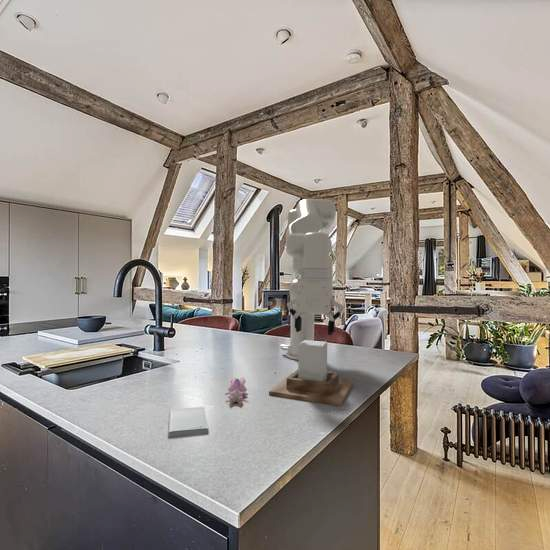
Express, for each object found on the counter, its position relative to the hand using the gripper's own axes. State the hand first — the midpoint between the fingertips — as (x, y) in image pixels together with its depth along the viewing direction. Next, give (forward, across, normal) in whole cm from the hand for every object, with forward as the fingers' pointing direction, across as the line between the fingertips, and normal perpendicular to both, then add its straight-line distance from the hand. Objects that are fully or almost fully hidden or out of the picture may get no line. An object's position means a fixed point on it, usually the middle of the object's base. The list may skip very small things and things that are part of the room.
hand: (314, 332), depth 105 cm
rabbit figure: (+17, -17, -16) cm, 29 cm away
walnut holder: (+16, 0, -1) cm, 17 cm away
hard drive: (+17, -19, -35) cm, 44 cm away
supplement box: (+16, 0, -1) cm, 16 cm away
